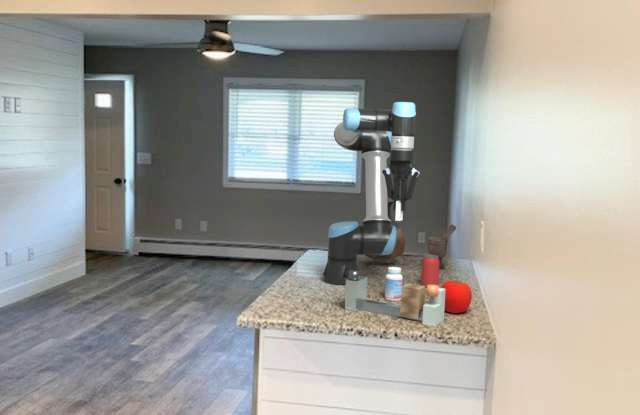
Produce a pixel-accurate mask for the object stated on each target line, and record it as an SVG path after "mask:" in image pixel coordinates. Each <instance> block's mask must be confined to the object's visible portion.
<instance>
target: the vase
mask: <svg viewBox="0 0 640 415" xmlns="http://www.w3.org/2000/svg"><path fill="white" fill-rule="evenodd" d="M392 205H394V201H393V199H391V198H389V197H387V210H388V218H389V219H390V220H391V221H392V226H395V227H396V232H397V234H396V243H395V247H394V250H393V252H392V253H391V254H389V255H381V256H380V255H364V256H366V257H367V258H369V259H372V260H374V261H376V262H378V263H380V264H382V265H384V264H390V263H391V262H392V261H394V260H395V259H396V258H399V257H401V256H402V255H403V254H404V251H405V245H406V243H405V235H404V233H403V229H402V228H401V226H400V224H398V223H397V221H394V220H392V217H391V207H392Z"/></svg>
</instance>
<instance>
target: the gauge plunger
mask: <svg viewBox="0 0 640 415" xmlns="http://www.w3.org/2000/svg"><path fill="white" fill-rule="evenodd" d="M438 288H440V287H439V284H438V285H433V284H430V285H427V287H426V296H428V297H429V296H430V302H434V297H437V296H438Z"/></svg>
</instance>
